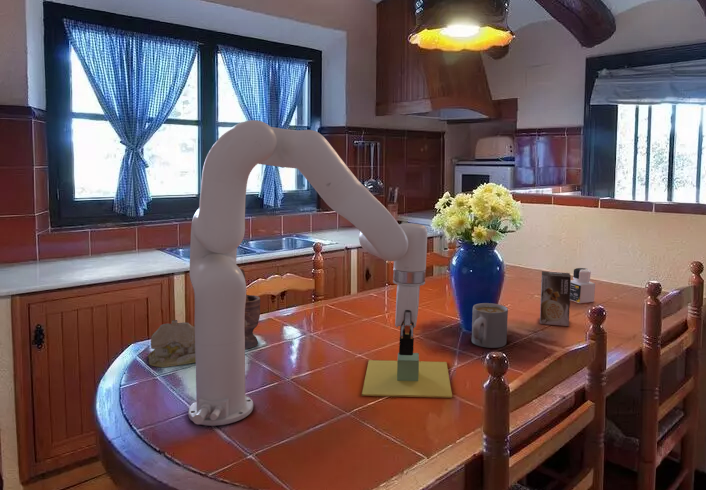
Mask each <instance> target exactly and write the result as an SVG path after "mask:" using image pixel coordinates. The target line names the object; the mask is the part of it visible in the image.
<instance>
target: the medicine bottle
mask: <svg viewBox="0 0 706 490" xmlns="http://www.w3.org/2000/svg"><path fill="white" fill-rule="evenodd" d="M591 273H592V272H591V270H590V269H588V268H586V267H577V268H574V269H573V275H572V279H571V285H570V302H571V301H572V302H575V303H577V304H587V303H594V302H595V294H596V283H595V282H592V281H591V275H592V274H591Z"/></svg>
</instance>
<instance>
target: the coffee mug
mask: <svg viewBox="0 0 706 490" xmlns="http://www.w3.org/2000/svg"><path fill="white" fill-rule="evenodd" d="M471 317H472V319H471V320H472V322H471V343H472V344H473V345H475V346H478V347H482V348H486V349H487V348H489V349H494V348H502V347H505V346H506V345H507V339H508V338H507V337H508V317H509V308H508V307H507V306H504V305H502V304H498V303H491V302H490V303H489V302H482V303H476V304H473V306H472V316H471Z"/></svg>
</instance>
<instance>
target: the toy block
mask: <svg viewBox="0 0 706 490" xmlns="http://www.w3.org/2000/svg"><path fill="white" fill-rule="evenodd" d="M397 361H398V363H397V381H418V378H419V361H420V354H419V352H413V355H400V354H399V352H397Z"/></svg>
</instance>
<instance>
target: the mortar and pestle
mask: <svg viewBox="0 0 706 490" xmlns="http://www.w3.org/2000/svg"><path fill="white" fill-rule="evenodd" d="M240 270H241V271H242V273H243V275H244V278H245V279H246V272H245V269H243V268H240ZM260 317H261V297H260V296H258V295H252V294H247V293H246V303H245V350H247V349H251V348H254V347H257V346H258V345H259V341H258V338H257V337H256V335H255V334H254V330H255V329H256V328H257V327H258V325H259V323H260Z"/></svg>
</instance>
